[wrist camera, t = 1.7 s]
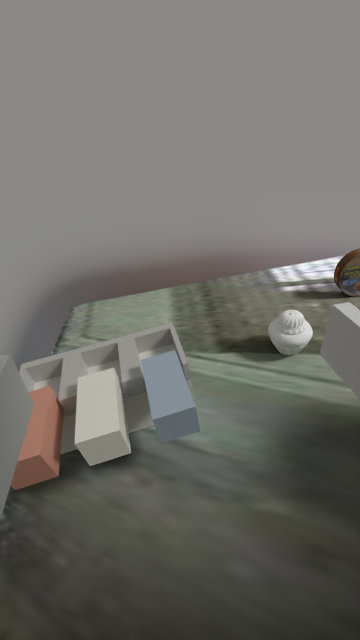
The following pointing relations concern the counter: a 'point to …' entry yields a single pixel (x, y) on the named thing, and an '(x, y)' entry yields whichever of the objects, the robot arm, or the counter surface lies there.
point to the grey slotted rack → (100, 357)
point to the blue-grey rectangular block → (169, 397)
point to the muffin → (290, 332)
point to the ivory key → (101, 418)
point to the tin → (349, 274)
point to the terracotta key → (40, 441)
